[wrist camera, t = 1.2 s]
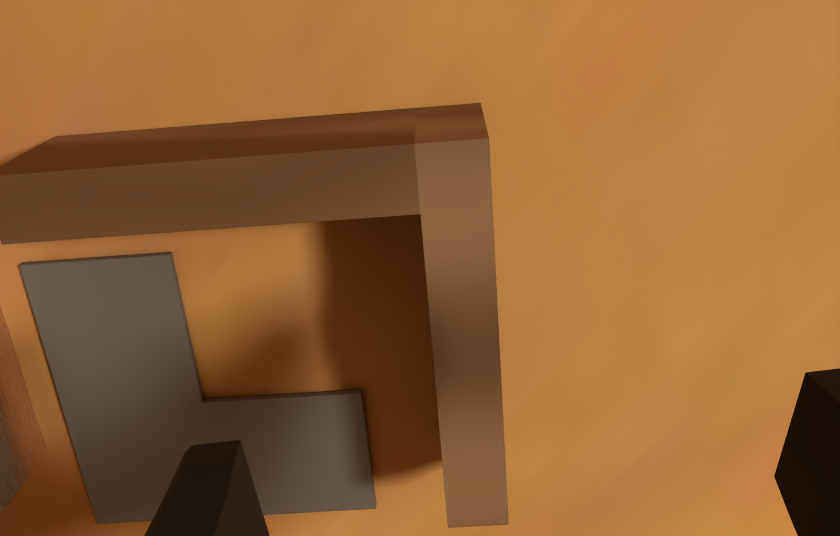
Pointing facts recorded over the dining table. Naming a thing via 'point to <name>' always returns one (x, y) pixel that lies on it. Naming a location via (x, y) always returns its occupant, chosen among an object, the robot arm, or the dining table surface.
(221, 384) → the dining table surface
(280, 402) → the L-shaped mat
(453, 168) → the corner jig
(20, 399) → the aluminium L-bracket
